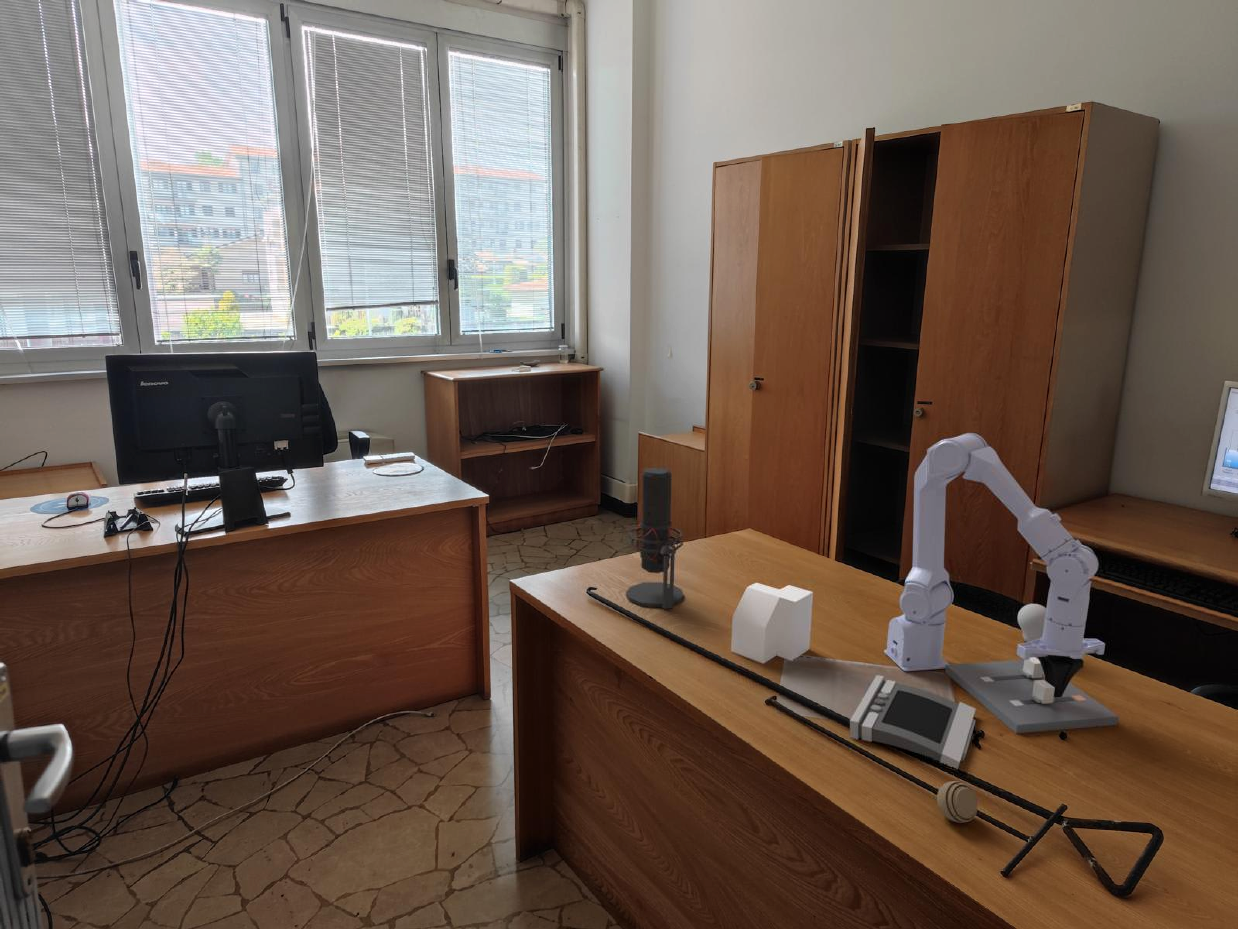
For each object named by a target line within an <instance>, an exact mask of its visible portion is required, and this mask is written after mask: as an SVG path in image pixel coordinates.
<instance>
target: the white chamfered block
mask: <svg viewBox="0 0 1238 929" xmlns="http://www.w3.org/2000/svg"><path fill="white" fill-rule="evenodd" d="M813 598H814V592H813V591H811V590H806V589H804V588H800V587H797V586H794V585H790V584H788V585H785V587H782V588H780V589H779V588H775V587H773V586H768V585H766V584H762V583H759V582H755V583H752V584H750V585H749V586H747V587H746V588H745V591H744V593H743V595H742V597H741V599H740V601H739V603H738V605H737V607H736V609H735V611H734V612H733V614H732V619H731V620H732V624H731V625H732V626H731V644H730V645H731V646H730V647H731V648H730V652H733V653H735V654H737V655H740V656H742V657H745V658H748V659H751V660H753V661H755V662H758V663H760V664H765V663H767V662H768V661H770V660H771V659H773V658H774V657H776V656H778V657H780V658H783V659H785V660H788V659H789V660H788V661H791V660H792V661H794V660H795V659H796V658H795V657H797V658H798V657H800V656H802V655H803V654H804V653H806V652H807V651H809V650H810V644H811V627H812V614H813V600H814V599H813ZM794 658H795V659H794ZM793 659H794V660H793Z"/></svg>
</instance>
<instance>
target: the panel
mask: <svg viewBox="0 0 1238 929" xmlns="http://www.w3.org/2000/svg"><path fill="white" fill-rule="evenodd" d="M1023 667H1024V659H1014V660H1013V659H1012V660H999V661H998V660H997V661H984V662H983V661H982V662H971V663H970V662H968V663H956V664H955V663H953V664H950V665H946V668H944V670H945V671H944V674H946V675H947V674H948V675H947V676H949V677H950V678H951V679H952V680H953V681H954V682H956V683H957V684H958V685H959V687H961V688H962V689H964V691H965V692H967V693H968V694H970V696H972V697H973V698H974V699H976V700H977V701H978V702H979V703H980V704H981V705H982V706H983V707H984V708H985V709H987V710H988V711H989V712H990V713H992V715H993V716H995V717H996V718H997V719H999V720H1000V721H1001V722H1002V723H1003V724H1005V726H1006V727H1008V728H1009V729H1010V730H1011V731H1013V732H1014V733H1015V734H1024V733H1025V734H1026V733H1036V732H1050V731H1060V730H1072V729H1084V728H1085V729H1086V728H1095V727H1096V726H1098V727H1107V726H1117V725H1118V724H1119V723H1118V722H1119V715H1117V714H1116V713H1114V712H1113V711H1112V710H1110V709H1108V708H1107V707H1105V705H1102V704H1101V703H1100V702H1098V701H1097V700H1096V699H1095V698H1093V697H1091V695H1088V694H1087V693H1085V691H1082V690H1081V689H1080V688H1078V687H1076V686H1075V685H1073V684H1072V683H1071V682H1069V684H1068V685H1067V687H1066V689H1065V691H1064V693H1063V695H1062V697H1056V698H1055V697H1053V698H1054V699H1055V702H1053V703H1046V704H1042V703H1038V702H1036V701H1035V700H1034V699H1032V698H1031V697H1030V694H1032V693H1033V686H1034V681H1035V680H1045V676H1044V677H1042V678H1032V677H1031V678H1028V677H1027V676H1025V675H1024V674H1023V673H1021V670H1023ZM1043 674H1044V672H1043ZM1094 726H1095V727H1094ZM1096 728H1097V727H1096Z"/></svg>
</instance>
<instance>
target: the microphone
mask: <svg viewBox="0 0 1238 929" xmlns="http://www.w3.org/2000/svg"><path fill="white" fill-rule="evenodd" d="M641 475H642V480H641V482H642V484H641V485H642V488H641V489H642V490H641V491H642V492H641V500H642V502H641V521H640V523H639V524H638V525H637V527H635V528H634V529H631V531H630V532H629V533H628V536H629V538H630V540H629V542H628V543H629V545H630V548H631V549H634V550H636V551H637V552H638V553H639V554H640V555H639V557H640V558H641V563H640V565H641V566H640V567H641V569H643V570H645V571H646V572H647V573H651V574H652V573H653V574H660V573H663V577H662V578H663V580H662V581H663V582H662V581H656V582H654V581H653V582H651V581H650V582H647V581H646V582H641V583H638V584H635V585H631V586H630V587H628V589H627V590H626V592H625V595H626V598H627V600H628V601H629V602H631V603H632V604H636V605H638V606H641V607H644V608H645V607H646V608H662V609H663V610H666V609H673V608H674V605H676V604H679V603H681V601H682V600H683V598H684V596H685V595H684V592H683V590H682V588H680V587H678V586H676V585H674V584H675V557H676V555H675V554H676V553H677V551H678V550H679V549H680V548H681V547H682V546H684V542H683V541H682V540H681V539H683V533H682V531H681V530H680V529H678V528H674V527H673V526H672V521H671V519H672V518H671V517H672V516H671V515H672V514H671V512H672V510H671V508H672V472H671V469H670V468H669V469H668V468H664V467H647V468H646V469H644V470H642V474H641ZM637 531H641V535H636V536H634V535H633V533H634V532H637ZM671 531H672V532H674V533H675V534H678V537H676V536H673V535H671ZM634 541H637V544H638V545H639V542H640V543H641V547H640V546H636V545H634V544H633V542H634ZM674 543H676V545H675V544H674ZM669 568H670V569H669ZM668 571H670V572H668ZM668 573H669V583H668Z"/></svg>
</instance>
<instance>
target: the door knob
mask: <svg viewBox="0 0 1238 929" xmlns="http://www.w3.org/2000/svg"><path fill="white" fill-rule="evenodd" d="M936 802H937V805H938V809H939V810H940V812H941V813H942V814H943V816H945V817H946V818H947V819H948V820H950V821H952V822H954V823H960V824H961V823H968V822H970V821H972V820H973V819H974V818H975V817H976V815H977V812H978V807H979V804H978V798H977V795H976V793H975V791H974V790H973V789H972V787H970V785H968V784H966V783H964V782H961V781H958V780H957V781H956V780H951V781H947V782H945V783H944V784H942V785H941V786H940V788H939V789H938V791H937V795H936Z"/></svg>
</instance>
